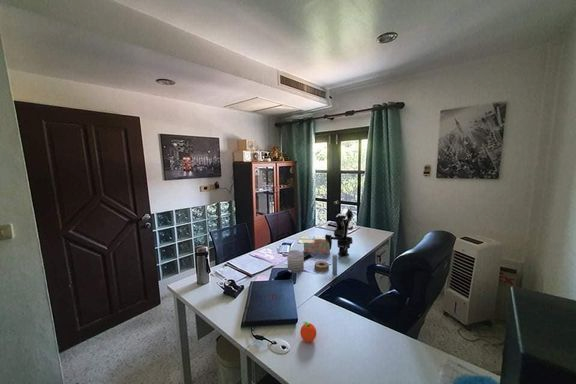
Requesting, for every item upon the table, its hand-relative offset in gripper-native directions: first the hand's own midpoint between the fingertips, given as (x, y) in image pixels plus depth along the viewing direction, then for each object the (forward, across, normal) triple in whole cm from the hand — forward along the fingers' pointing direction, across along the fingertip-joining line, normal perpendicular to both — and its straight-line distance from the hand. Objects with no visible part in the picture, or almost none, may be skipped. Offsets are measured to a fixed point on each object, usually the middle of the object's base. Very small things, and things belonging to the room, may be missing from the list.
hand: (336, 250), depth 158 cm
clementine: (+57, +2, -39) cm, 69 cm away
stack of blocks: (-6, -21, +26) cm, 34 cm away
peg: (+15, 0, +4) cm, 16 cm away
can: (+18, -26, +1) cm, 32 cm away
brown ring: (+12, -10, +7) cm, 17 cm away
